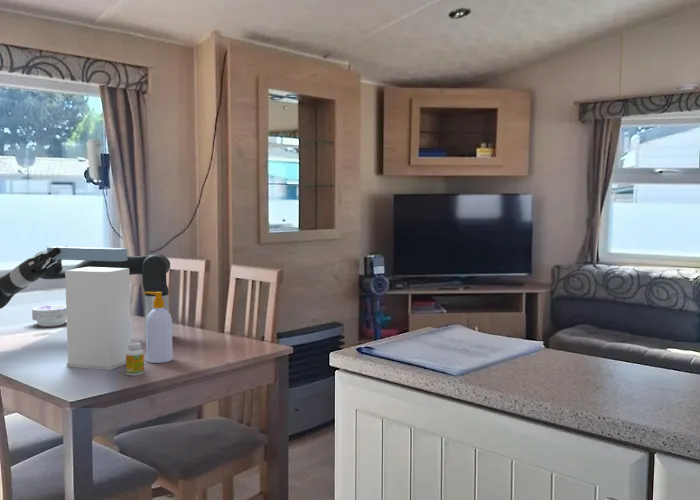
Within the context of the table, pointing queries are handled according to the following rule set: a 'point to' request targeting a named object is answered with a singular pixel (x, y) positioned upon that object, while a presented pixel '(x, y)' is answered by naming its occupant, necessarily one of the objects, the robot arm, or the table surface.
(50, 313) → the paper bowls
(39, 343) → the table surface
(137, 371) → the supplement bottle
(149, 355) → the soap bottle
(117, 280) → the storage box
